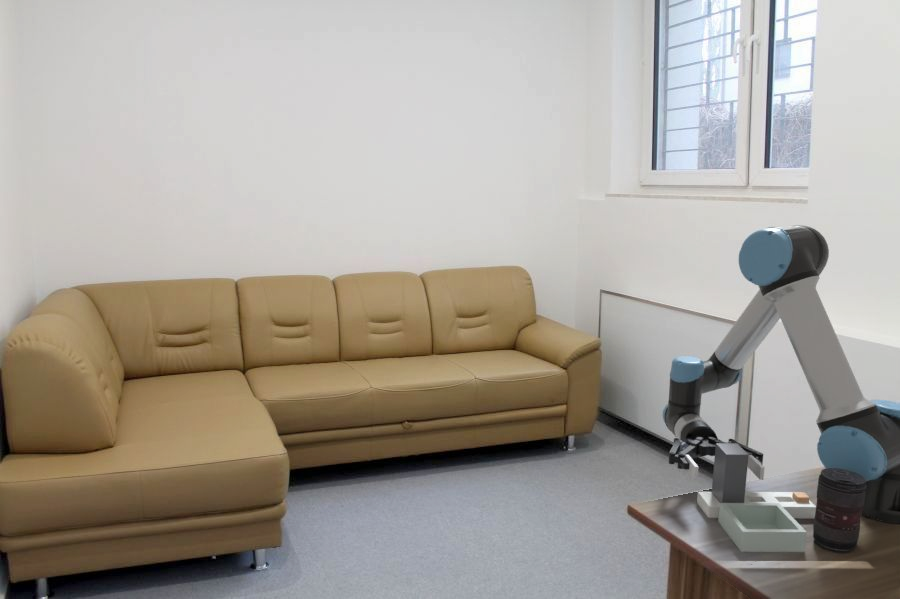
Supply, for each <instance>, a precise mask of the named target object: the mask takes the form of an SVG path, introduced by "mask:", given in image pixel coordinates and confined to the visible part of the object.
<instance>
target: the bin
mask: <svg viewBox="0 0 900 599" xmlns="http://www.w3.org/2000/svg"><path fill="white" fill-rule="evenodd" d="M717 519H718V520H717V522H718V523H719V525H720V526H721V527H722V529H723V530H724V531H725V533H726V534H727V536H728V537H729V538H730V539H731V541H732V542H733V543H734V544H735V546H736V547H737V549H738V550H739V551H740V552H741V553H806V552H805V551H806V545H807V544H806V543H807V534H808V532H807V531H806V529H804V527H803V526H802V525H801V524H800V523H799V522H798V521H797V519H794V518H793V517H792V516H791V515H790V514H789V513H788V512H787V511H786V510H785V509H784V508H783V507H782V506H781V505H780V504H779V503H720V507H719V518H717Z"/></svg>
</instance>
